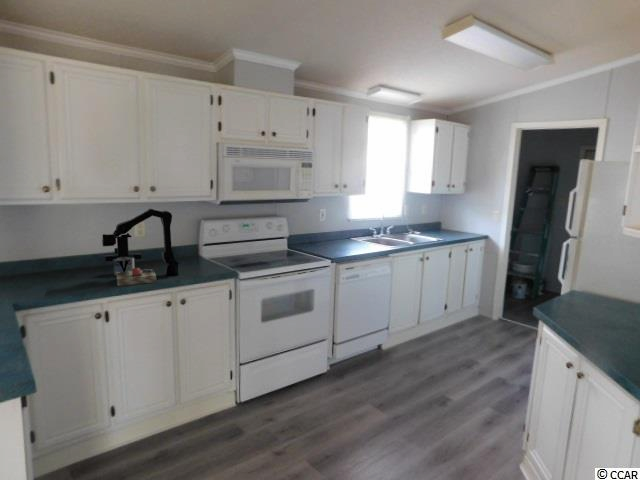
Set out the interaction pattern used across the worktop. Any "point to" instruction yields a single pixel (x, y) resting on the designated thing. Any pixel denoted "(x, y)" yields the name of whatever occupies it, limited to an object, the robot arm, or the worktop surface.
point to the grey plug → (146, 270)
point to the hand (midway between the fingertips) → (124, 271)
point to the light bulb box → (118, 267)
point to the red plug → (136, 272)
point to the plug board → (135, 278)
